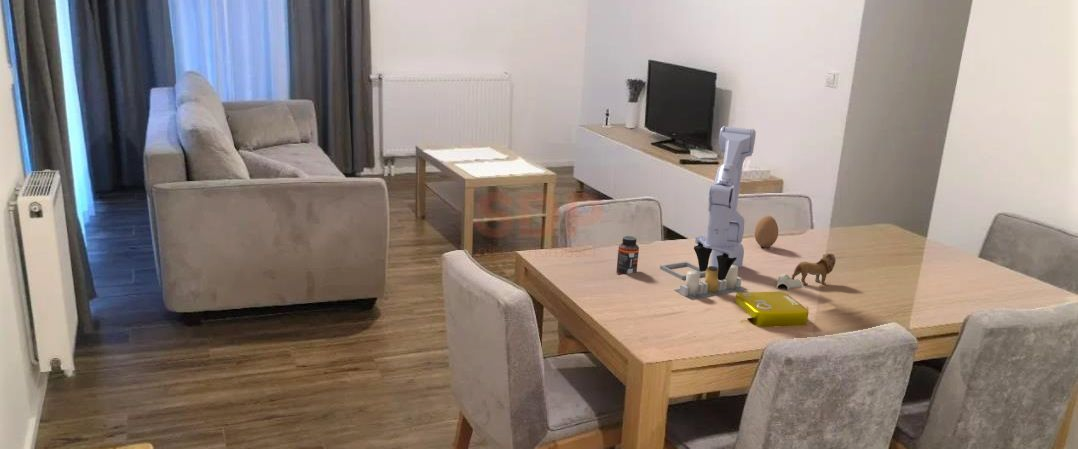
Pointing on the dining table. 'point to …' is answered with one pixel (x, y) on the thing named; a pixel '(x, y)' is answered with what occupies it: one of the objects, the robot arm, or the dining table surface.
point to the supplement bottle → (627, 256)
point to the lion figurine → (816, 268)
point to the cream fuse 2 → (732, 277)
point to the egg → (766, 231)
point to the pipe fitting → (788, 281)
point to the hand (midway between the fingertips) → (712, 275)
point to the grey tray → (666, 267)
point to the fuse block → (703, 292)
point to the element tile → (772, 309)
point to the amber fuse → (712, 278)
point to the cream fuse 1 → (692, 282)
